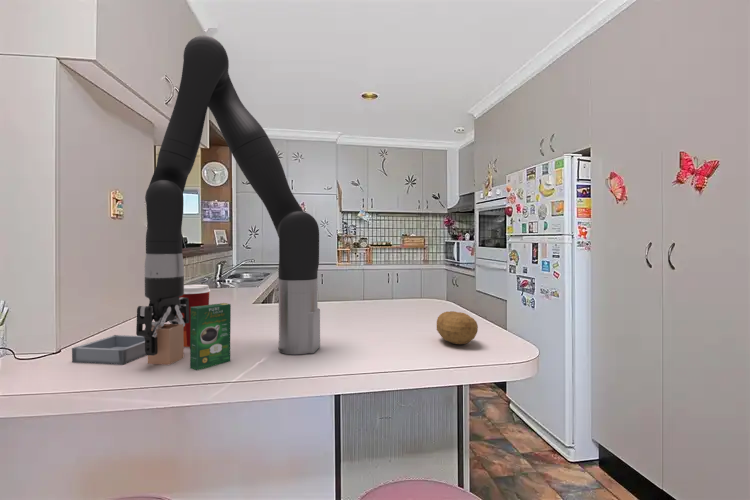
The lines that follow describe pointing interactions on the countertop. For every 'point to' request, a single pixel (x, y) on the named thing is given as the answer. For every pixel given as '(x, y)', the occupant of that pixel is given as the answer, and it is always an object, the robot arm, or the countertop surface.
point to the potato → (456, 327)
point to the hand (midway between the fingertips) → (165, 349)
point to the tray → (110, 350)
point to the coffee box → (210, 335)
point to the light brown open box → (168, 345)
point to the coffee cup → (194, 304)
